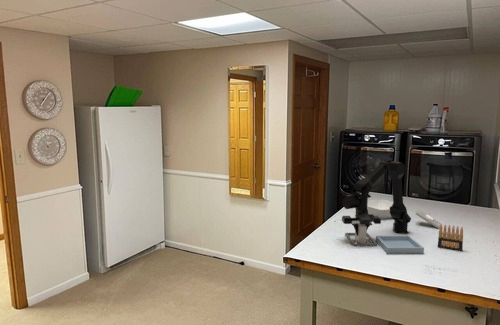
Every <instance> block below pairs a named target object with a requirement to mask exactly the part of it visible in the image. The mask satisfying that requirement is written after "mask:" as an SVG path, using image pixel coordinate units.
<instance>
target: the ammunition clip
mask: <svg viewBox="0 0 500 325" xmlns="http://www.w3.org/2000/svg"><path fill="white" fill-rule="evenodd" d="M438 230H439V231H438V241H437V249H444V250H450V251H455V252H463V244H464V227H463V226H461V227H460V228H459V226H458V225H457V226H456V228H455V225H453V226H452V228H451V225H450V224H449V225H448V226H447V224H444V226H443V224H442V223H441V225H440V229H438Z"/></svg>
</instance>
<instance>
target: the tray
mask: <svg viewBox="0 0 500 325" xmlns="http://www.w3.org/2000/svg"><path fill="white" fill-rule="evenodd" d="M375 242H376V243H377V245H378V246H380V248H381V249H382V250H383V251H384V252H385V254H386V255H424V252H425V248H424V247H423V245H421V244H420V243H419V242H418V241H416V240H415V239H414V238H412V236H411V235H376V236H375Z"/></svg>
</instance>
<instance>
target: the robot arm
mask: <svg viewBox="0 0 500 325" xmlns="http://www.w3.org/2000/svg"><path fill="white" fill-rule="evenodd" d="M405 171H406V170H405V163H403V162H399V161H390V162H388V161H383V160H382V161H380V162H379V163H378V165H377V166H376V167H375V168H374V169H373V170H372V171H371V172H369V174H368V175H367V176H366V177H363V178H361V179H359V180H358V181H356V183H354V186H353V188H352V189H351V191H350V193H349V194H346V195H345V197H344V198H343V200H342V206H343V208H344V209H345V210H349V209H350V210H352V209H355V214H354V217H351V215H342V216H341V222H342V223H343V224H345V225H350V224H351V225H352V226H353V229H354V233H355V232H356V235H357V236H358V224H357V221H359V222H360V224H361V225H364V224H365V225H366V226H367V230H368V229H369V227H370V226H373V224H374V225H377V224H379V225H381V224H382V219H380V218H379V217H378V216H374V215H373V214H368V210H367V204H368V201H369V199H370V198H371V197H372V196H371V194H370V193H371V191H372V189H373V188H374V184H375V183H376V182H377V181H378V180H379V179H380V178H381V177H382V176H383V175H384V174H385V173H386V172H388V175H389V177H390V178H391V186H392V189H391V190H392V202H393V205H392V206H391V207H390V214H391V216H392V218H391V220H394V221H393V223H392V225H393V226H392V230H393V232H395V233H396V234H409V231H408V225H409V223H410V222H411V219H412V217H411V216H410V215H409V214H408V211H407V210H408V209H407V207H406V206H405V204H404V197H403V196H404V195H403V181H402V180H403V179H402V178H403V176H404V175H405Z"/></svg>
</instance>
